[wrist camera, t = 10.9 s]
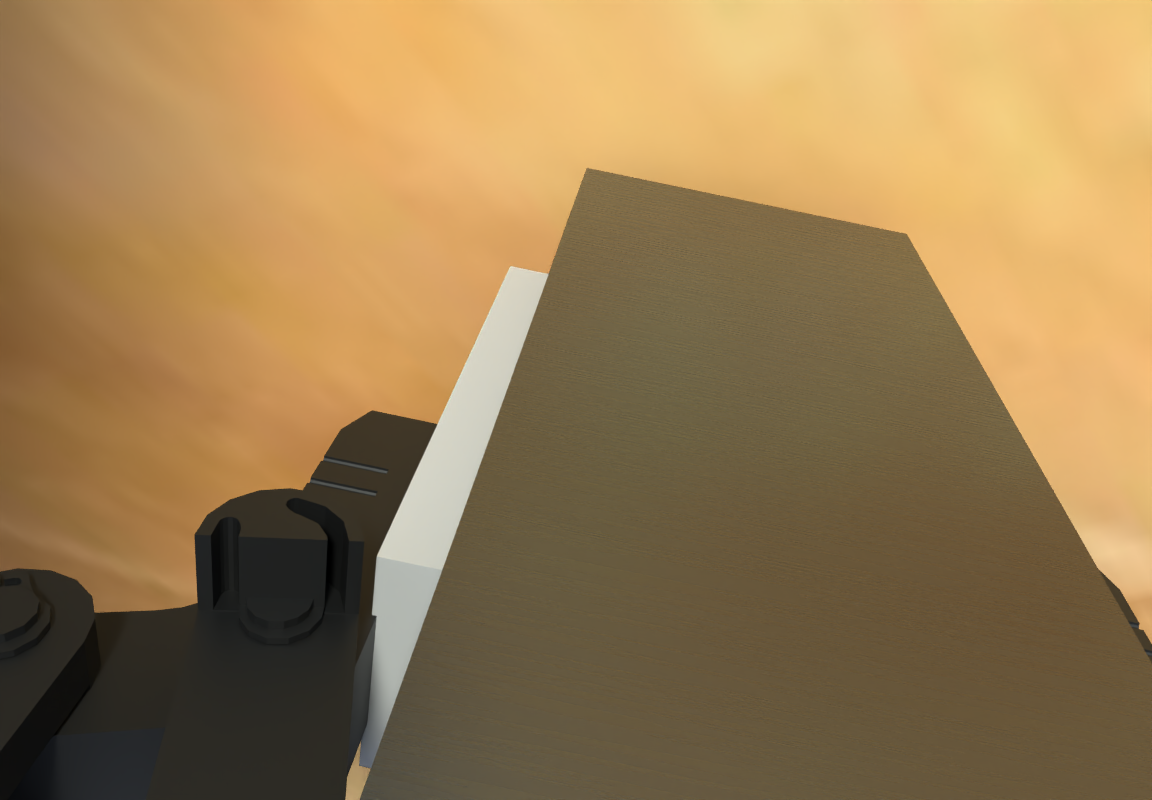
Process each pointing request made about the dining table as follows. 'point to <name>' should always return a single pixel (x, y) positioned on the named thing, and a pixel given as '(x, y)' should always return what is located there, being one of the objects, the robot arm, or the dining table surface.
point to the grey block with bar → (760, 543)
